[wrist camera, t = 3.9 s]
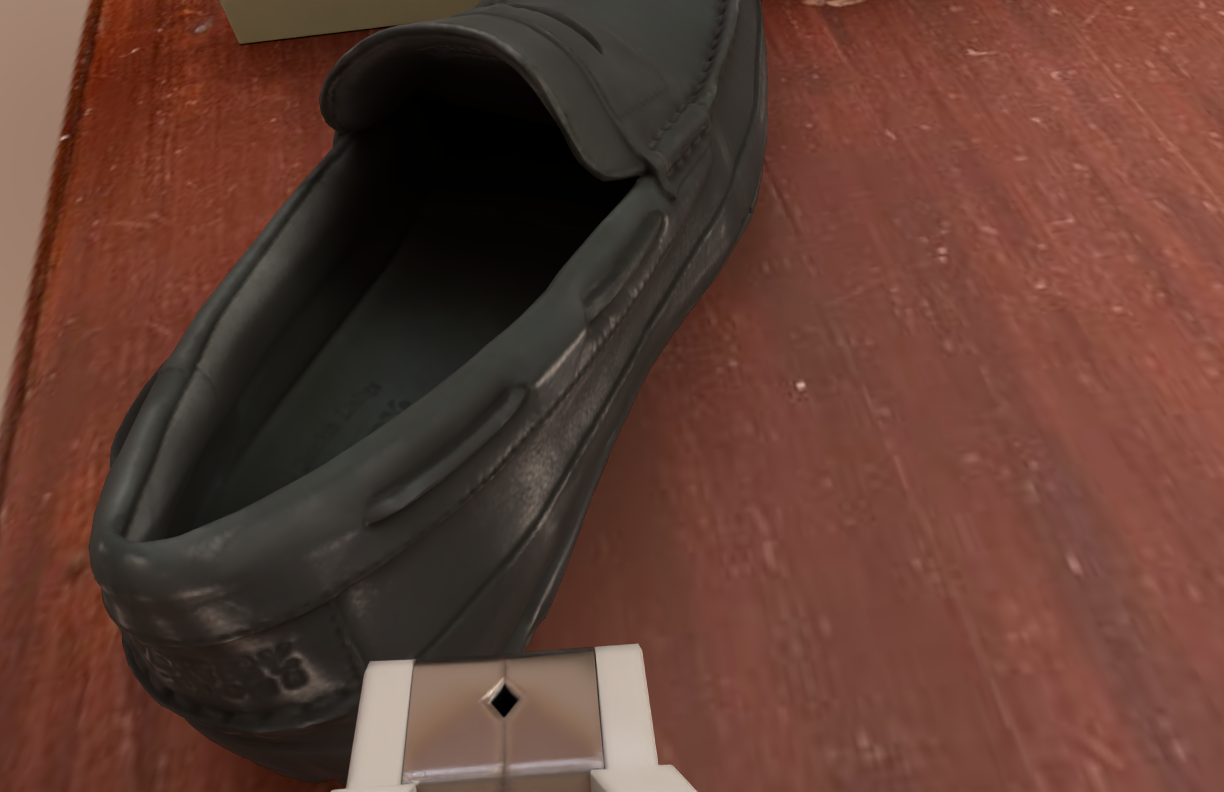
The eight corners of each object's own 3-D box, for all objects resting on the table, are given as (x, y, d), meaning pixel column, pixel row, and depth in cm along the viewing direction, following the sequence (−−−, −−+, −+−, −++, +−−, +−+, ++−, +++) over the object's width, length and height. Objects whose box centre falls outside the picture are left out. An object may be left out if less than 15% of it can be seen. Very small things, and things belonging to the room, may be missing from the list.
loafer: (803, 34, 37) (813, -286, 29) (616, 888, 21) (522, 687, 13) (530, 24, 40) (471, -274, 32) (164, 782, 23) (-156, 556, 15)
